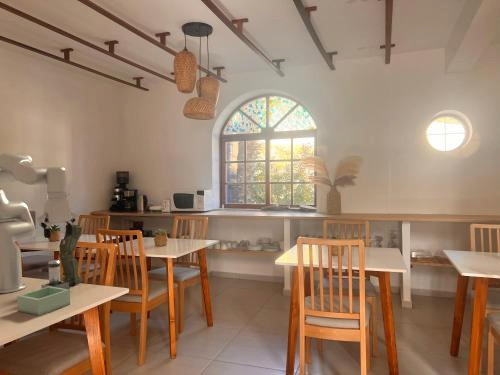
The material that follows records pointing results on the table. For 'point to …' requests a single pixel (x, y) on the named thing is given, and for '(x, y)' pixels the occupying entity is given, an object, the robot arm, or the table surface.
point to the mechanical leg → (70, 256)
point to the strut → (54, 272)
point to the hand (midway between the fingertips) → (58, 235)
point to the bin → (43, 300)
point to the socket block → (63, 285)
